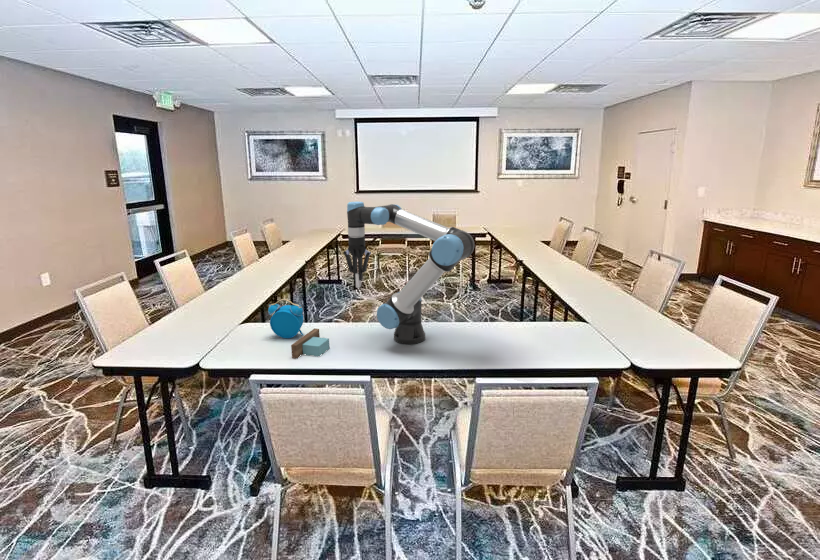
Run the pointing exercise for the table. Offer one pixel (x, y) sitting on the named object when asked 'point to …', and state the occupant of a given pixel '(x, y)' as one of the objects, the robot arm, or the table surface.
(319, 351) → the block
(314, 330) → the board
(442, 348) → the table surface
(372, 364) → the table surface
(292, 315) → the alarm clock
